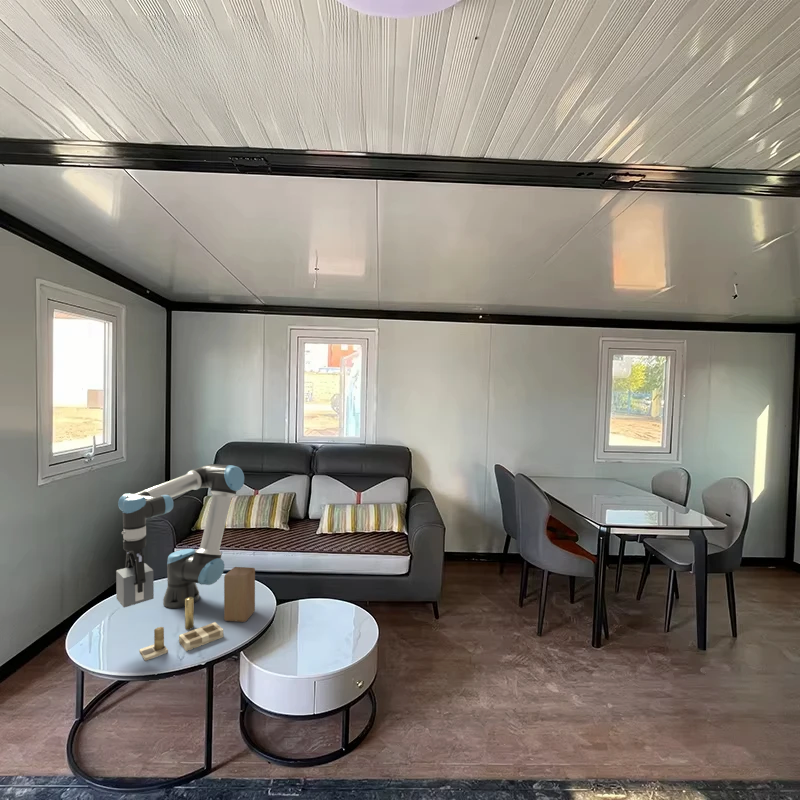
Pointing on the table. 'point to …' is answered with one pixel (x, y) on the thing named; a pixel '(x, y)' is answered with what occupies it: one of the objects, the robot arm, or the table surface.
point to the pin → (189, 613)
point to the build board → (200, 636)
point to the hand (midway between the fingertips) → (135, 595)
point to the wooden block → (239, 594)
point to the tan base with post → (155, 646)
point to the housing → (133, 586)
